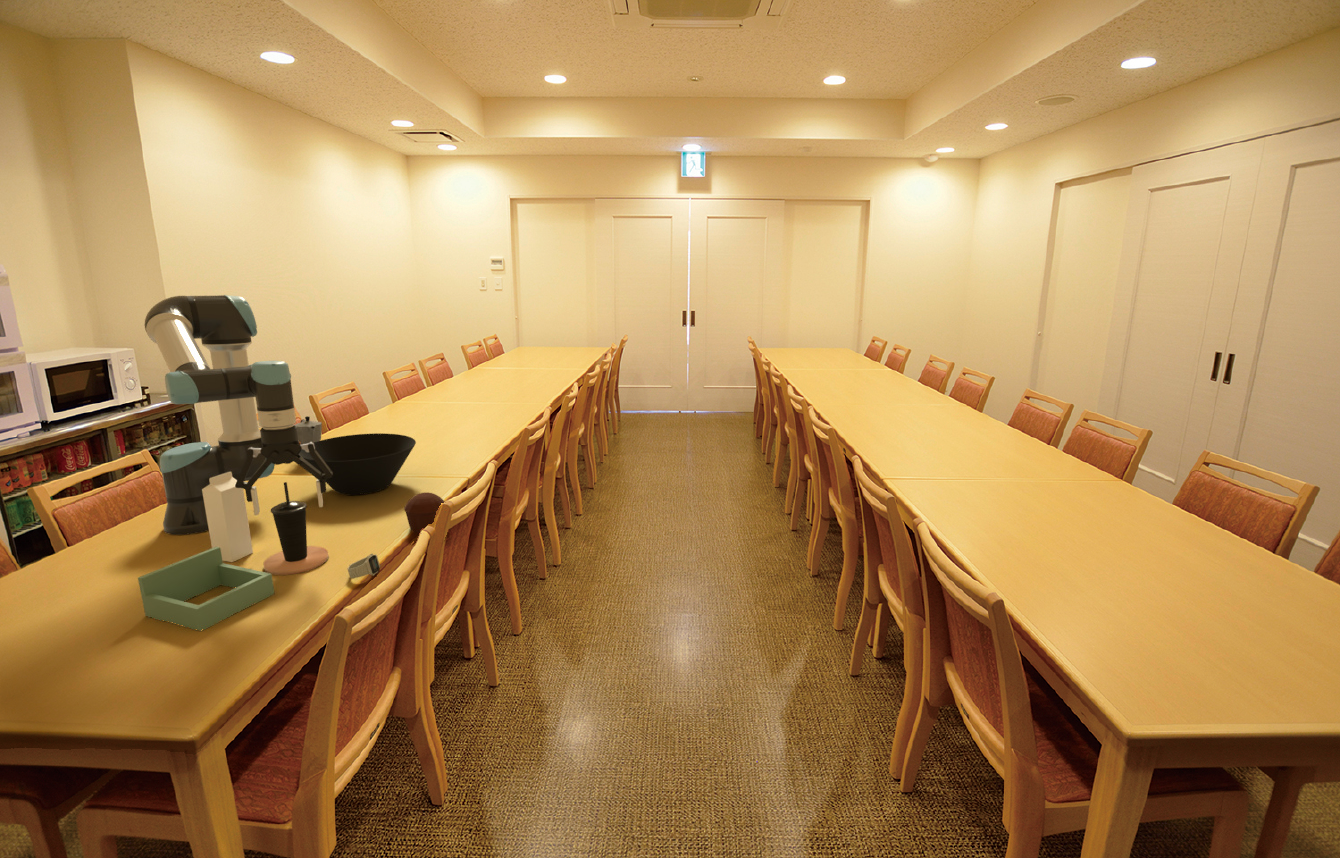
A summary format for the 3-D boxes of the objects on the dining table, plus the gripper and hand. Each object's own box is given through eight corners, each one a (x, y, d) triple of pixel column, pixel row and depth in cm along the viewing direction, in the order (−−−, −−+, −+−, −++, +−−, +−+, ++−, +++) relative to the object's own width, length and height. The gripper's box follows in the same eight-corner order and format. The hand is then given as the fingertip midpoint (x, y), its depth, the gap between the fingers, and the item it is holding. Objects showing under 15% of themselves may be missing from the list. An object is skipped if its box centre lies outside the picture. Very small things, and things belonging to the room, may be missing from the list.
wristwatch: (367, 582, 146) (365, 563, 145) (341, 582, 146) (338, 562, 145) (386, 565, 155) (384, 547, 154) (361, 564, 155) (359, 546, 154)
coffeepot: (331, 462, 238) (326, 417, 234) (304, 467, 232) (298, 421, 227) (319, 454, 249) (314, 411, 244) (293, 458, 242) (287, 414, 238)
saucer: (250, 569, 151) (249, 565, 151) (300, 547, 164) (299, 542, 164) (293, 579, 147) (292, 574, 147) (341, 555, 160) (340, 550, 160)
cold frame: (145, 616, 130) (137, 577, 128) (222, 581, 145) (216, 546, 143) (200, 631, 125) (193, 591, 123) (274, 593, 140) (269, 557, 138)
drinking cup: (297, 566, 151) (285, 488, 146) (271, 562, 152) (258, 486, 148) (320, 552, 158) (310, 479, 153) (295, 549, 160) (284, 476, 155)
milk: (213, 559, 156) (198, 477, 151) (235, 550, 162) (221, 470, 157) (232, 562, 155) (218, 479, 150) (254, 552, 161) (240, 472, 155)
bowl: (364, 513, 188) (358, 466, 185) (277, 498, 199) (271, 454, 196) (441, 479, 221) (437, 438, 218) (362, 468, 232) (358, 429, 229)
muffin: (406, 522, 182) (403, 490, 179) (445, 517, 186) (443, 486, 184) (406, 537, 171) (403, 504, 169) (448, 532, 176) (446, 499, 173)
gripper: (211, 434, 139) (226, 522, 144) (336, 424, 149) (346, 507, 154) (218, 427, 145) (231, 511, 150) (337, 418, 156) (346, 497, 161)
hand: (289, 509), depth 152 cm, fingers open, 13 cm apart
